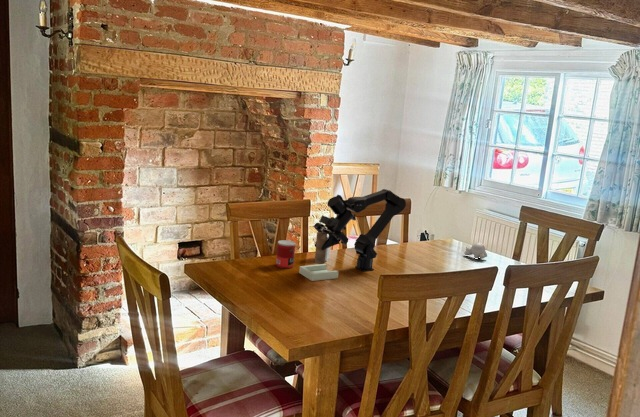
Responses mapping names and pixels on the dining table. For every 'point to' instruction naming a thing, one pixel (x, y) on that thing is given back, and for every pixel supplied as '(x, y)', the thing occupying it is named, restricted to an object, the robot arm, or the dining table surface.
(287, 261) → the canned food
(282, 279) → the dining table surface
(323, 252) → the brown round cylinder
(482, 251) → the chubby cartoon animal
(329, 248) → the skincare box
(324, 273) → the tray
